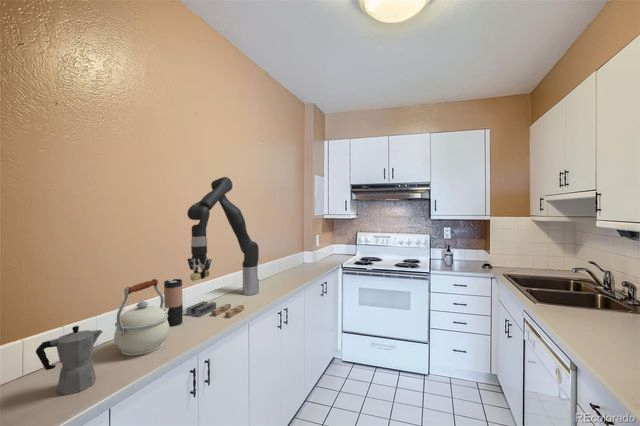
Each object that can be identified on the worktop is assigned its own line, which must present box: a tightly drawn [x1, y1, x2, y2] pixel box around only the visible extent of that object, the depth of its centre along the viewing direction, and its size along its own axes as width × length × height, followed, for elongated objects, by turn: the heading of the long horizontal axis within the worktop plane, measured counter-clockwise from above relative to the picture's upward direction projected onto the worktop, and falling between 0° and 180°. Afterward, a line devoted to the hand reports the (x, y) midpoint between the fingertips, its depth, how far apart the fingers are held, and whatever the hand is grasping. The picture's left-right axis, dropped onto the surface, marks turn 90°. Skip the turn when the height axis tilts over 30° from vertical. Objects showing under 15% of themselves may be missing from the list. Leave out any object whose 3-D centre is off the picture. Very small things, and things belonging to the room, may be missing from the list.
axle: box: [189, 270, 210, 282], centre depth 156 cm, size 10×4×4 cm, turn 161°
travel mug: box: [163, 278, 184, 327], centre depth 140 cm, size 8×8×20 cm
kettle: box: [113, 278, 170, 357], centre depth 118 cm, size 25×18×25 cm
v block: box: [185, 300, 217, 318], centre depth 156 cm, size 12×9×4 cm
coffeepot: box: [35, 325, 104, 395], centre depth 90 cm, size 15×9×18 cm, turn 137°
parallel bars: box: [211, 303, 245, 319], centre depth 154 cm, size 12×11×2 cm
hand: (199, 278), depth 155 cm, fingers closed on axle, 3 cm apart
